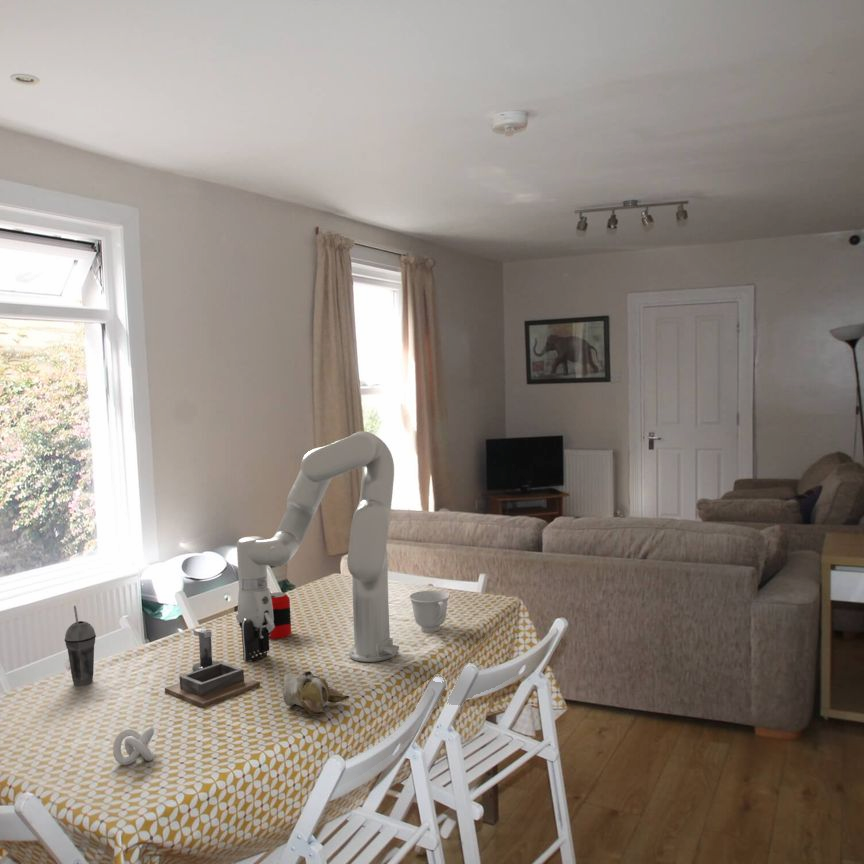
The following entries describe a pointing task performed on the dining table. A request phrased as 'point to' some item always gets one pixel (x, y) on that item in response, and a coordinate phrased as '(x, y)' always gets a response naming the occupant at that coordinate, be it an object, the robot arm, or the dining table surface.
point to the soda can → (281, 615)
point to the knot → (133, 745)
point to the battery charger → (250, 641)
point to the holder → (212, 684)
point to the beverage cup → (81, 651)
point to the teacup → (429, 609)
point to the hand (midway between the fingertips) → (256, 648)
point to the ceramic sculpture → (309, 692)
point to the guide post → (204, 649)
